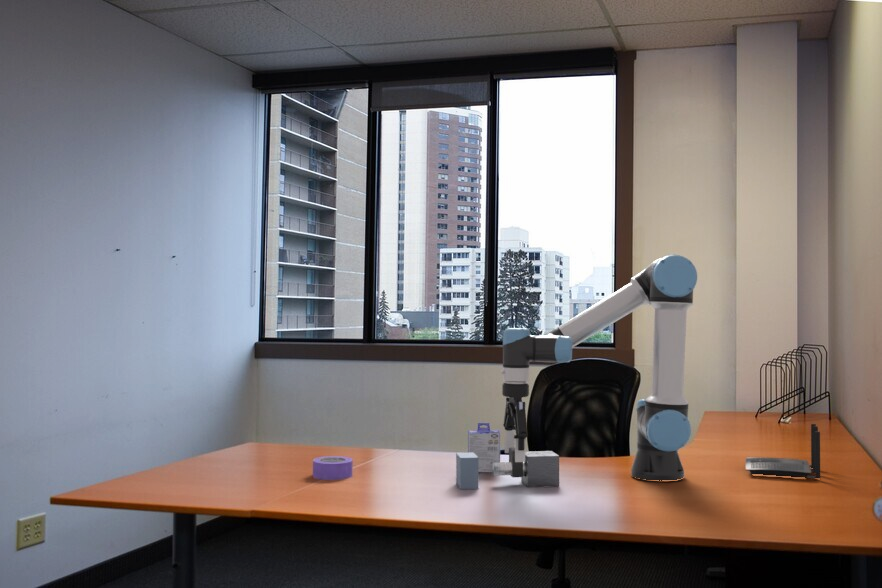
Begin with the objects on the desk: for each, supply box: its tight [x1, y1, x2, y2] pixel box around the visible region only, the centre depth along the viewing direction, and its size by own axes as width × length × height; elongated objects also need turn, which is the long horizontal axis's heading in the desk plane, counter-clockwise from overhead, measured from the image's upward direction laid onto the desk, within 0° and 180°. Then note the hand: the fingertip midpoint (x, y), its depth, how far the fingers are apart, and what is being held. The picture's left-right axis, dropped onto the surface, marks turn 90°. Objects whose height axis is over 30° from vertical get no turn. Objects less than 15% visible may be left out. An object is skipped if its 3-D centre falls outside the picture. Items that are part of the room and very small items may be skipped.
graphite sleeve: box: [520, 450, 560, 488], centre depth 234 cm, size 9×8×8 cm
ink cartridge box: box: [467, 422, 501, 473], centre depth 252 cm, size 10×6×14 cm, turn 90°
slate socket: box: [455, 452, 479, 490], centre depth 231 cm, size 5×8×9 cm, turn 7°
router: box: [745, 423, 821, 479], centre depth 250 cm, size 21×20×15 cm
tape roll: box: [312, 455, 354, 481], centre depth 245 cm, size 12×12×5 cm
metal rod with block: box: [491, 447, 526, 478], centre depth 233 cm, size 18×5×8 cm, turn 97°
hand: (514, 457), depth 233 cm, fingers open, 13 cm apart
